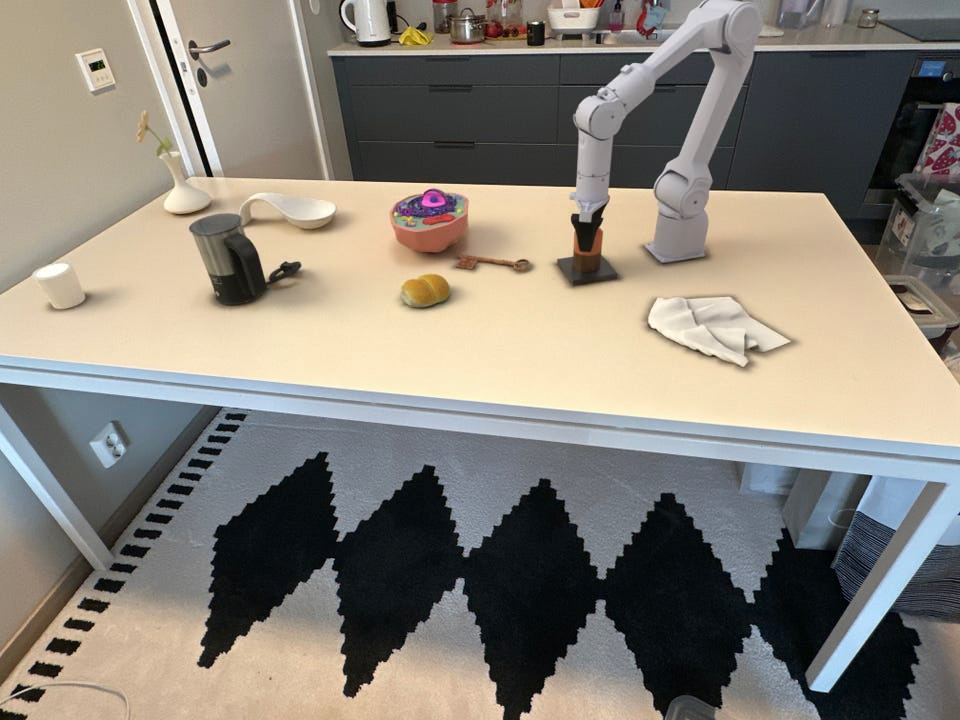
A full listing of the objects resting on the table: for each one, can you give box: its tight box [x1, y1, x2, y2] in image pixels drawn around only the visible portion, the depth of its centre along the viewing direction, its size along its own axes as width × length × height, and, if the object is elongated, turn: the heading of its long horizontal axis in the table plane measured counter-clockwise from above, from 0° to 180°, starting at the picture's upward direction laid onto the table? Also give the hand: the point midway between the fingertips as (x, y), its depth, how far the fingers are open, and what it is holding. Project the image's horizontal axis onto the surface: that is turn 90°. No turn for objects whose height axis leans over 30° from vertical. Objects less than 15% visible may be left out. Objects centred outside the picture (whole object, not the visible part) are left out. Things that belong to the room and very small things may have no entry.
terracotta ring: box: [573, 227, 604, 256], centre depth 110 cm, size 5×5×4 cm
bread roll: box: [400, 273, 451, 308], centre depth 108 cm, size 8×9×4 cm
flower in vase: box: [136, 109, 212, 215], centre depth 141 cm, size 13×11×25 cm
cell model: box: [388, 187, 470, 254], centre depth 123 cm, size 17×20×11 cm
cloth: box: [647, 296, 791, 368], centre depth 96 cm, size 20×22×2 cm
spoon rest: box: [238, 191, 338, 230], centre depth 137 cm, size 24×12×7 cm, turn 83°
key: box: [455, 254, 531, 272], centre depth 117 cm, size 6×1×15 cm
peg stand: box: [556, 254, 618, 287], centre depth 112 cm, size 9×9×7 cm
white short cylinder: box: [31, 261, 86, 310], centre depth 112 cm, size 7×7×7 cm
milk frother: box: [188, 212, 303, 306], centre depth 111 cm, size 14×16×15 cm
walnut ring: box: [572, 249, 603, 273], centre depth 112 cm, size 5×5×4 cm
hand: (588, 242), depth 110 cm, fingers open, 7 cm apart
